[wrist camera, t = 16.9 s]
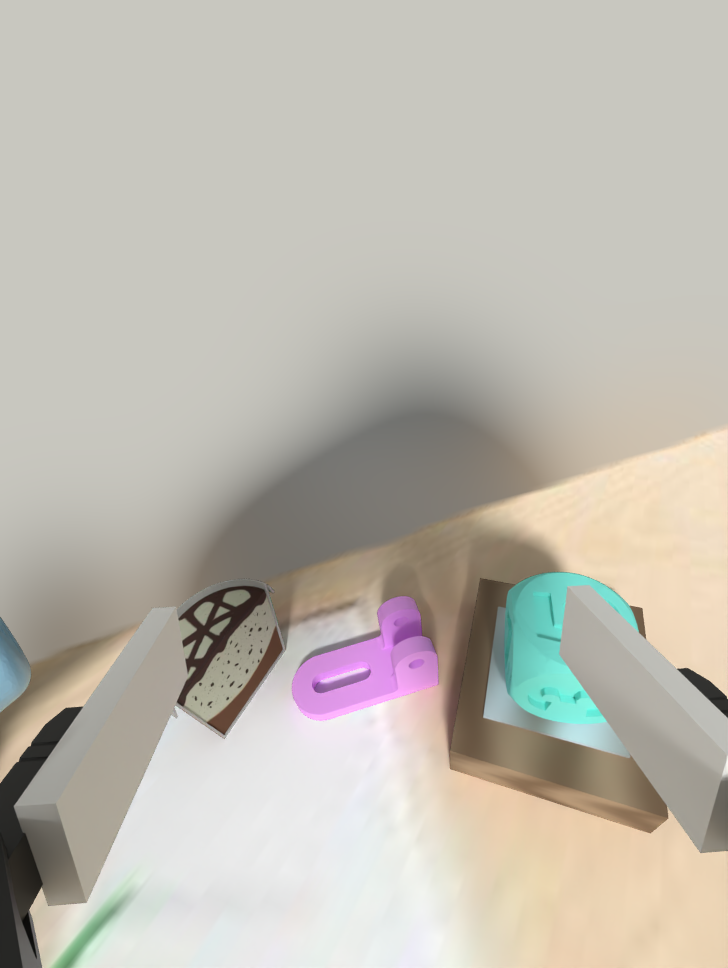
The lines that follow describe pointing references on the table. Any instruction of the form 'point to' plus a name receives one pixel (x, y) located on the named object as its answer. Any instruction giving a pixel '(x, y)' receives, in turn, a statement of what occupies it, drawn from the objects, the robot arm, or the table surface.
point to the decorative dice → (548, 647)
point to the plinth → (541, 736)
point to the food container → (227, 650)
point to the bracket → (371, 666)
